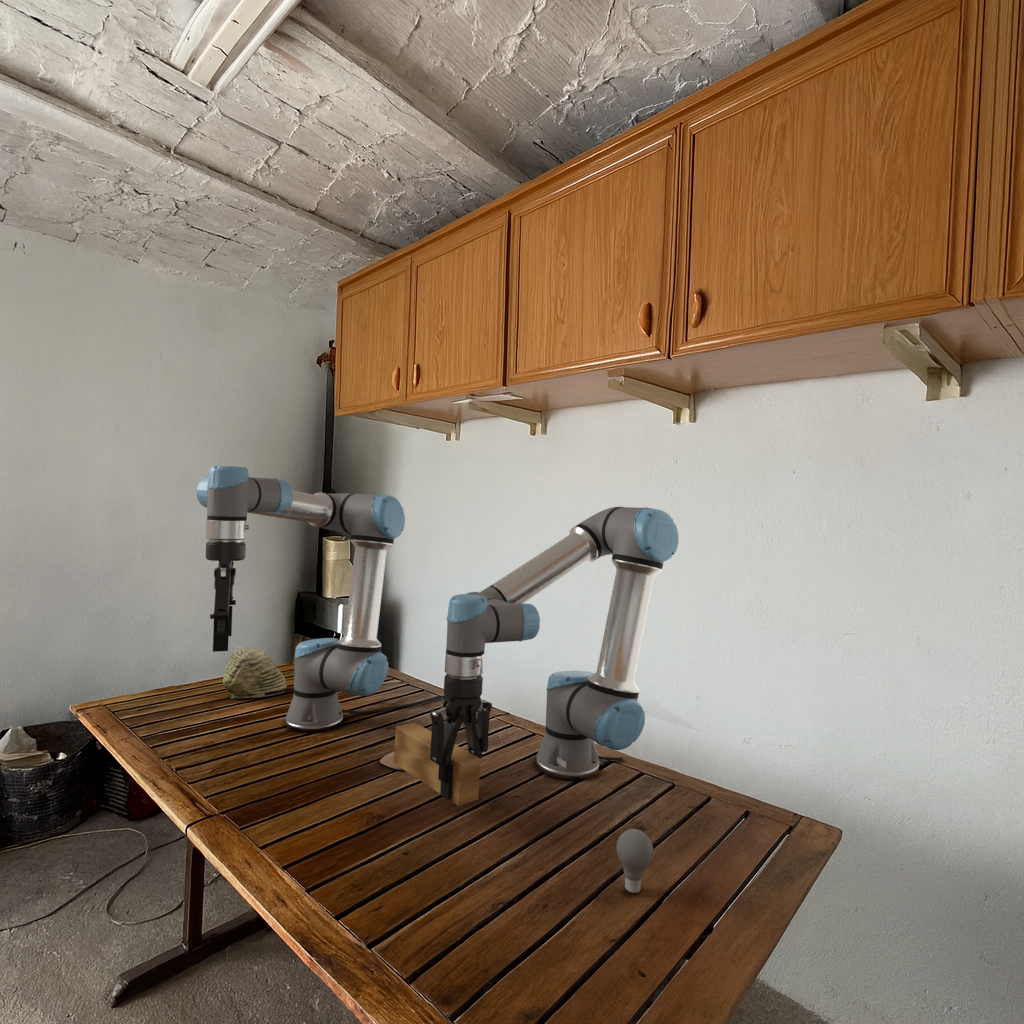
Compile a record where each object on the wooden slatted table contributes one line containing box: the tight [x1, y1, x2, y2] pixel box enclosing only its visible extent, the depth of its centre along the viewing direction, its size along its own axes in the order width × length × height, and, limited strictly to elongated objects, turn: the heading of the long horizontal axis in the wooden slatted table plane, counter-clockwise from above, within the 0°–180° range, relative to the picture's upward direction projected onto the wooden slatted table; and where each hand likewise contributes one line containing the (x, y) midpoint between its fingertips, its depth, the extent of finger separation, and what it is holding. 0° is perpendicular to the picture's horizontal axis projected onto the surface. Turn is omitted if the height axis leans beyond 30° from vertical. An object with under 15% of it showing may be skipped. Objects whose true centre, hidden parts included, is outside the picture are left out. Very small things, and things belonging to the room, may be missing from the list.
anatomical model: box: [379, 751, 405, 771], centre depth 154 cm, size 13×4×12 cm
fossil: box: [222, 646, 288, 699], centre depth 198 cm, size 9×18×15 cm, turn 132°
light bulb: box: [615, 828, 654, 894], centre depth 106 cm, size 6×6×10 cm
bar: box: [393, 722, 482, 807], centre depth 130 cm, size 24×5×8 cm, turn 41°
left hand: (222, 643), depth 131 cm, fingers open, 13 cm apart
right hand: (457, 792), depth 124 cm, fingers closed on bar, 5 cm apart
